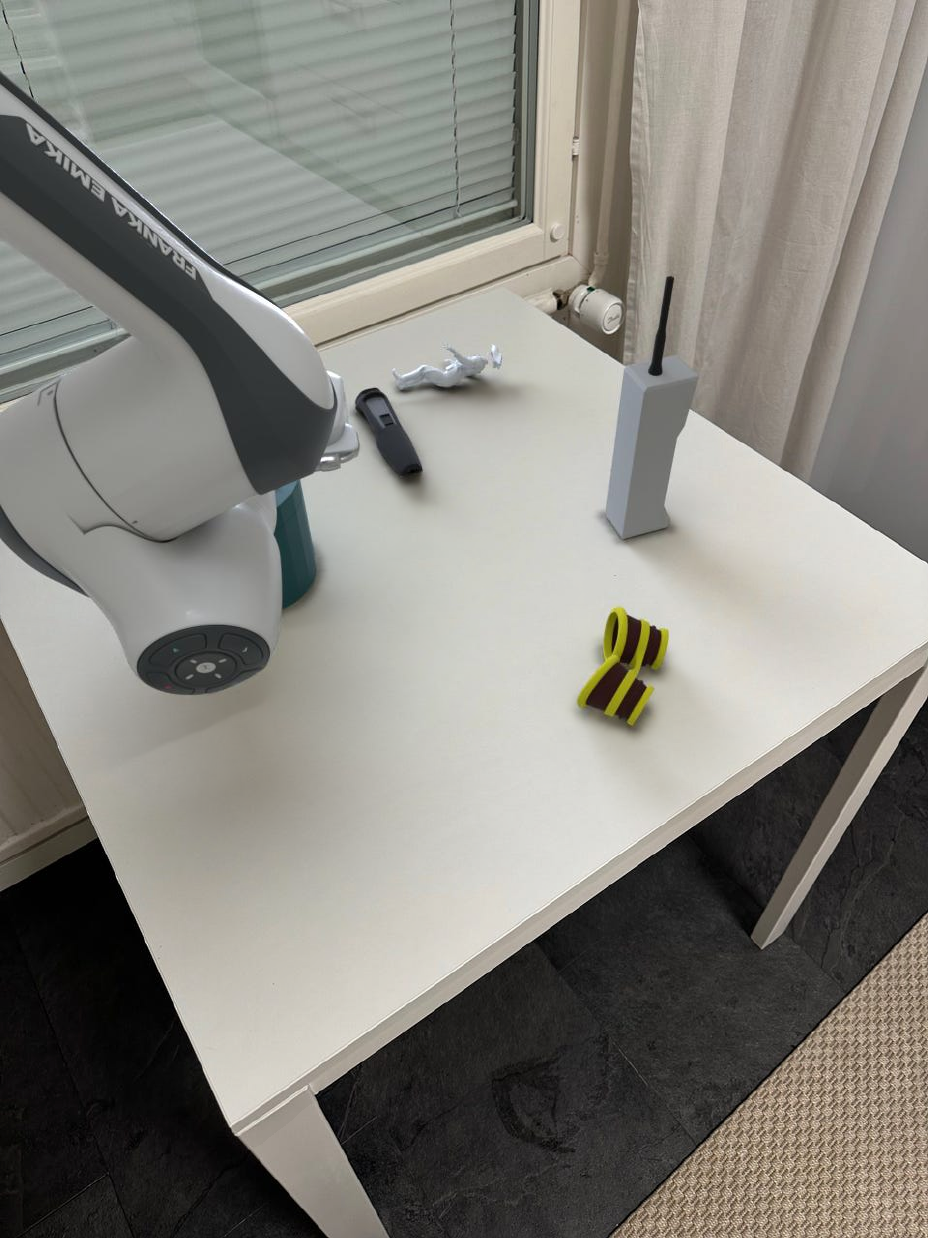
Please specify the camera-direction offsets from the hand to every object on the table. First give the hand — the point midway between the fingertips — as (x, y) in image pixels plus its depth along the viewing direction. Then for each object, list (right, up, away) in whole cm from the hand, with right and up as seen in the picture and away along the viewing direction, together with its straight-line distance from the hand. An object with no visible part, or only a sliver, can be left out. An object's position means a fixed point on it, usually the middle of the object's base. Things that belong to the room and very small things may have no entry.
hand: (205, 371), depth 67 cm
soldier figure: (+18, +8, +35) cm, 40 cm away
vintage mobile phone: (+36, -10, +19) cm, 42 cm away
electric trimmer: (+12, 0, +28) cm, 31 cm away
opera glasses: (+33, -24, +6) cm, 41 cm away
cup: (0, -15, +15) cm, 21 cm away
